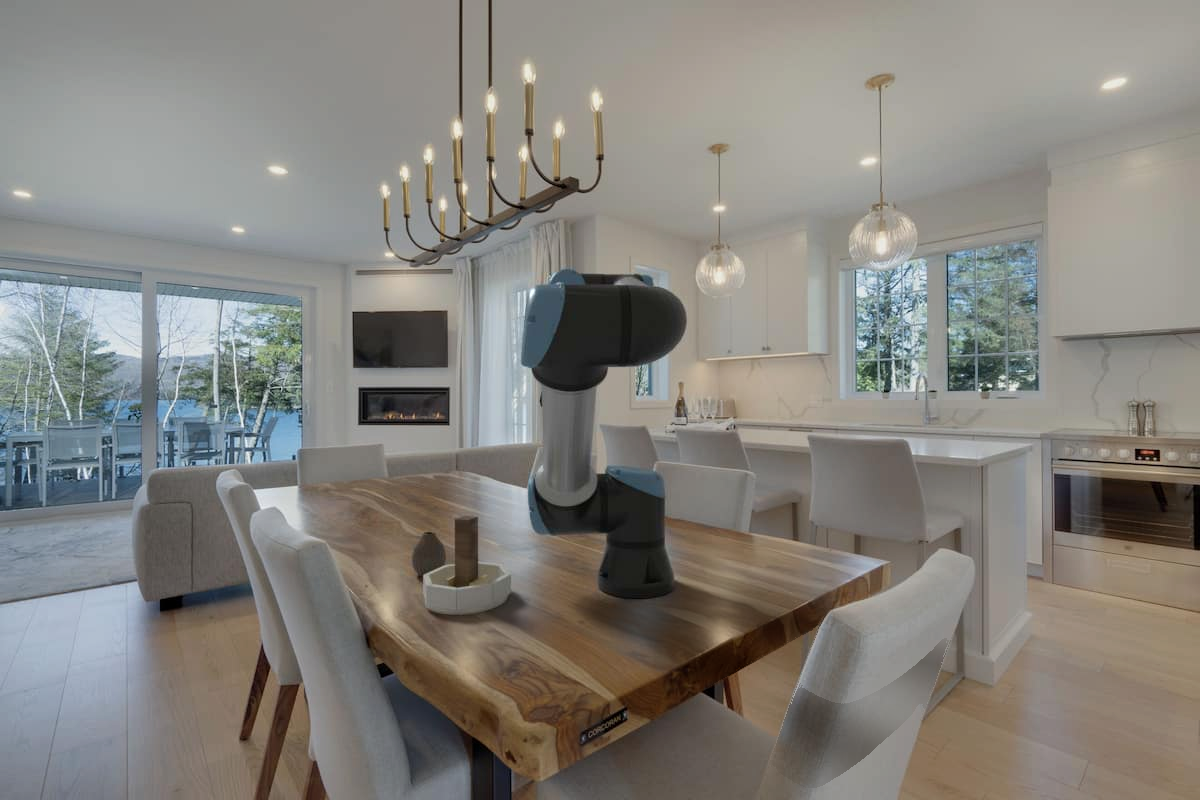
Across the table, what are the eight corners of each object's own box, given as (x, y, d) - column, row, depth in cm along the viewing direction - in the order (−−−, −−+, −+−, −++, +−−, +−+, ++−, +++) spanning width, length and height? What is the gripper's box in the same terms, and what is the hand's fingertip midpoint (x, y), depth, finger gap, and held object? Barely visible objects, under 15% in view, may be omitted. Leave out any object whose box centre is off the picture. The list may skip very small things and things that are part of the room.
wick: (464, 589, 102) (464, 515, 102) (478, 591, 100) (477, 516, 100) (455, 595, 99) (454, 518, 99) (468, 597, 98) (468, 520, 98)
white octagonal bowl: (522, 590, 104) (522, 567, 104) (478, 620, 90) (478, 593, 90) (458, 581, 109) (458, 559, 109) (406, 607, 95) (406, 582, 95)
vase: (436, 580, 110) (435, 537, 110) (405, 578, 111) (405, 536, 111) (451, 570, 116) (451, 529, 116) (422, 568, 118) (422, 528, 118)
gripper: (572, 347, 136) (572, 431, 136) (523, 337, 113) (523, 438, 113) (599, 346, 133) (600, 432, 133) (555, 335, 110) (555, 439, 110)
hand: (565, 435), depth 123 cm, fingers open, 13 cm apart
